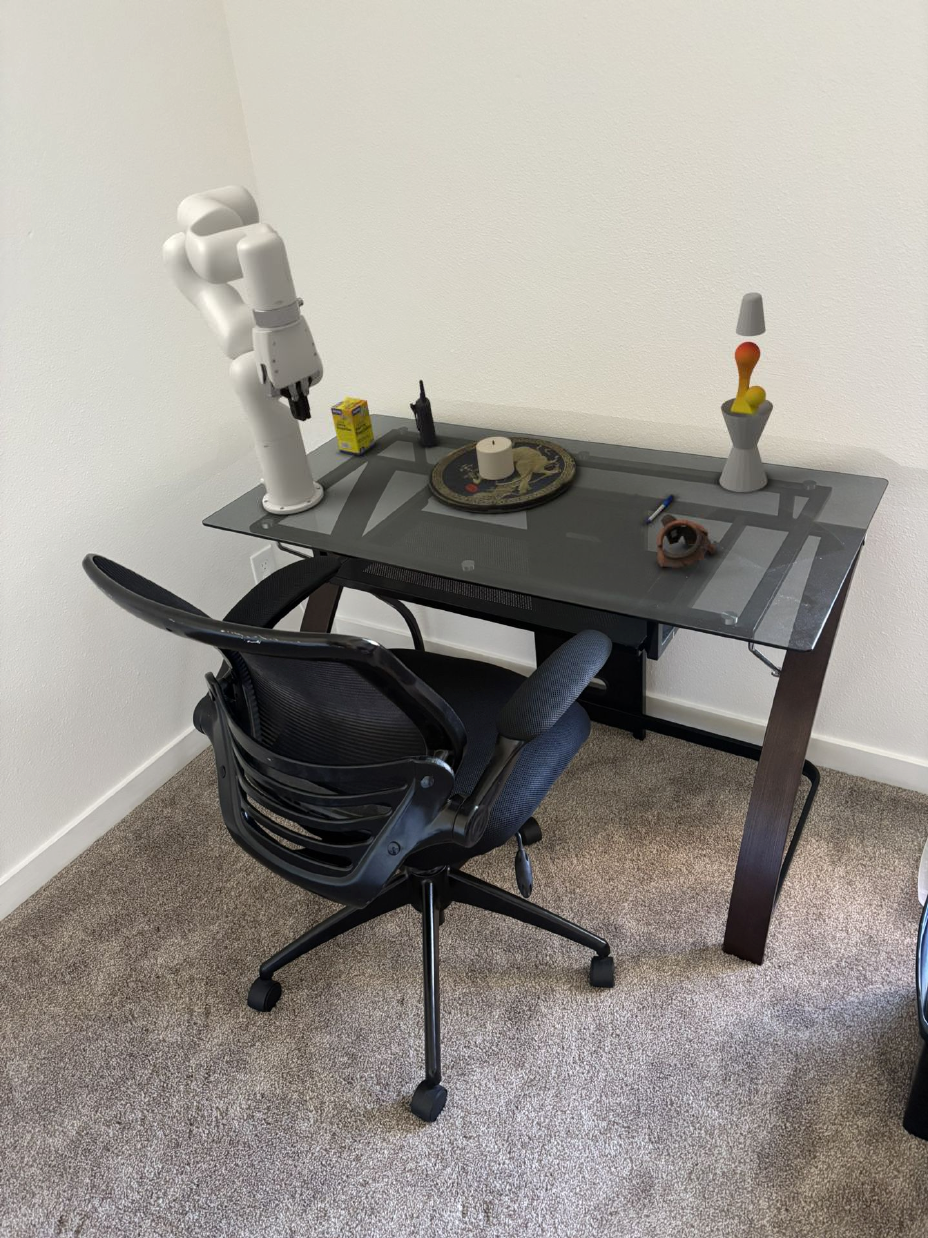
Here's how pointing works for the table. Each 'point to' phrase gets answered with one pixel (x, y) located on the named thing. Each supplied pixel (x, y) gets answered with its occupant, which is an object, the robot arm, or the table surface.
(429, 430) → the two-way radio
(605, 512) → the table surface
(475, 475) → the decorative plate
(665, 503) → the ballpoint pen
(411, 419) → the table surface
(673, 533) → the pottery mug
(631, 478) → the table surface
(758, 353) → the lava lamp
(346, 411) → the supplement box
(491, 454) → the candle
